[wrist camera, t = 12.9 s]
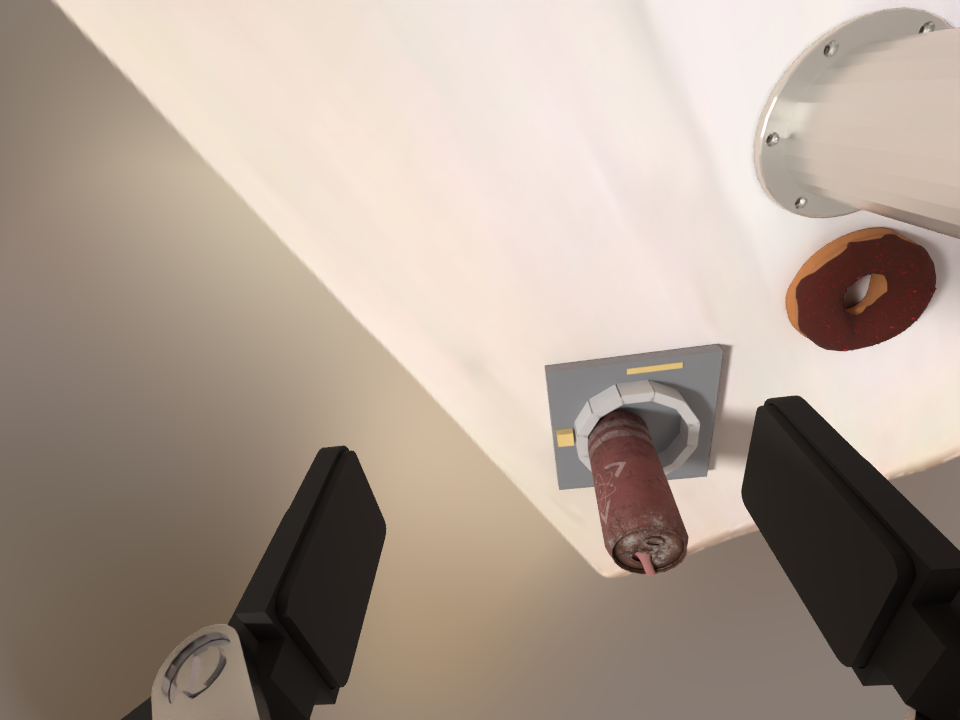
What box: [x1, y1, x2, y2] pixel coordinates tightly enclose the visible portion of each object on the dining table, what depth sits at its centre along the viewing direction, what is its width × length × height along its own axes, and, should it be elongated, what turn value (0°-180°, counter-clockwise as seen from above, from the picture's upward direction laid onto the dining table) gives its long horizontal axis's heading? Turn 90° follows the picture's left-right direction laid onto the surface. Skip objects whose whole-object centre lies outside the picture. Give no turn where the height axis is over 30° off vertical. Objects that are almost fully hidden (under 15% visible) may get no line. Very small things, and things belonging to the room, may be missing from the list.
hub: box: [545, 344, 723, 490], centre depth 44 cm, size 16×16×3 cm
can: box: [588, 410, 688, 576], centre depth 38 cm, size 6×6×14 cm
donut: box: [786, 228, 937, 352], centre depth 35 cm, size 10×10×4 cm
